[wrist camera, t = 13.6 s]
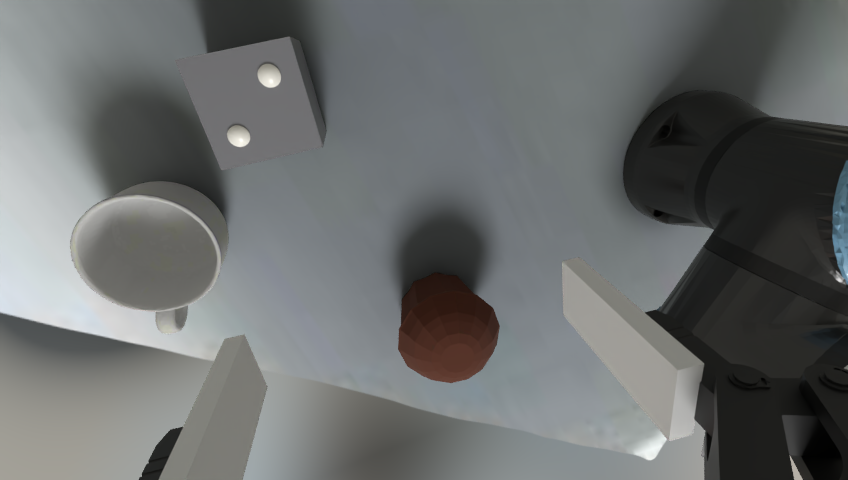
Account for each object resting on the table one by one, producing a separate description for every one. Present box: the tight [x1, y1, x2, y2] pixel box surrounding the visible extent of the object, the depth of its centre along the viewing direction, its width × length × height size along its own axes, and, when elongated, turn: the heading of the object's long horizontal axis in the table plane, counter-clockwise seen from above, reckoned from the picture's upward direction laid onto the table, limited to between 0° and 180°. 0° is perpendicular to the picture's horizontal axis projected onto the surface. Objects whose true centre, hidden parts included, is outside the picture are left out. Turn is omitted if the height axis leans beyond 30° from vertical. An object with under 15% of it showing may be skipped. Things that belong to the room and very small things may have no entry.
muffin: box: [398, 272, 500, 383], centre depth 45 cm, size 12×11×10 cm
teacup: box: [70, 181, 229, 334], centre depth 37 cm, size 14×11×8 cm
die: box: [175, 36, 326, 171], centre depth 34 cm, size 8×8×8 cm
